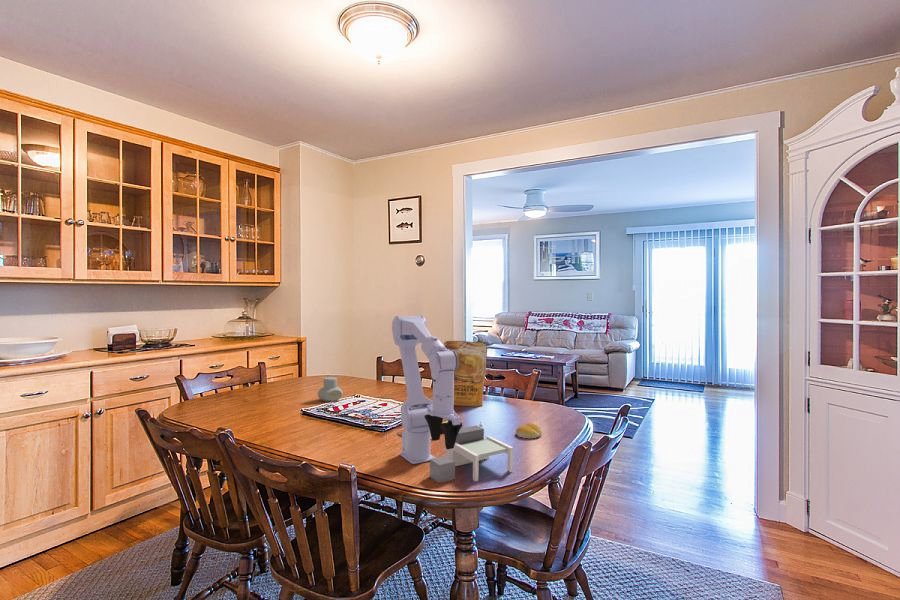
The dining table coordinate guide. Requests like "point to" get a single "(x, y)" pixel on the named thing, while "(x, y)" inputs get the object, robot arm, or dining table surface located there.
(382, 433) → the dining table surface
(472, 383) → the pancake mix bag
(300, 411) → the dining table surface
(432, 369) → the robot arm
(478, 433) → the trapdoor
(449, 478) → the grey cube
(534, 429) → the bread roll
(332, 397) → the air freshener
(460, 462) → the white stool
